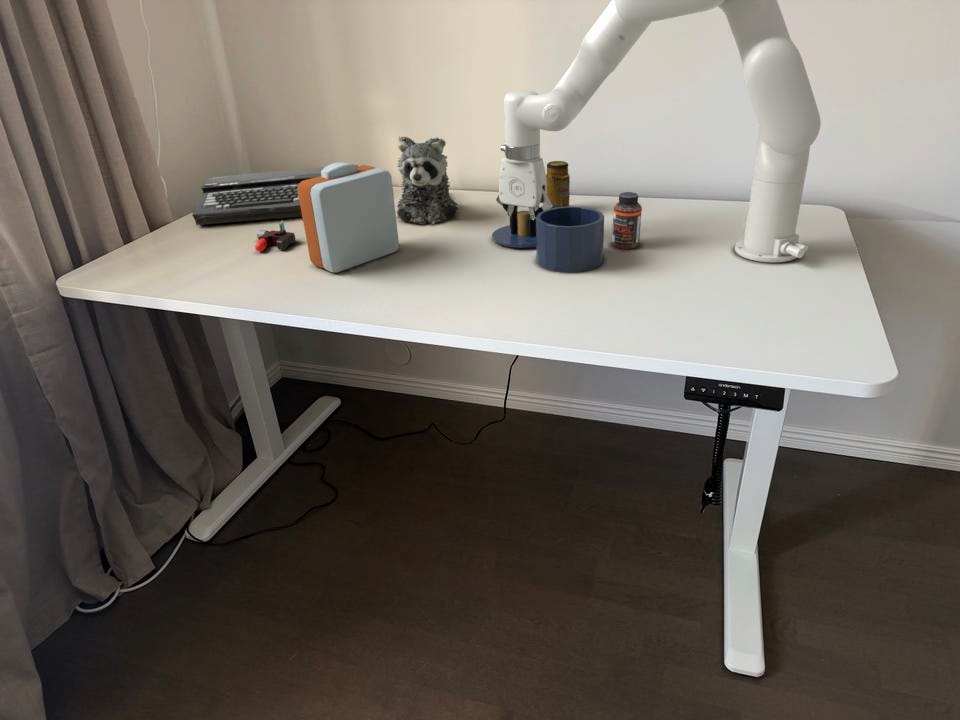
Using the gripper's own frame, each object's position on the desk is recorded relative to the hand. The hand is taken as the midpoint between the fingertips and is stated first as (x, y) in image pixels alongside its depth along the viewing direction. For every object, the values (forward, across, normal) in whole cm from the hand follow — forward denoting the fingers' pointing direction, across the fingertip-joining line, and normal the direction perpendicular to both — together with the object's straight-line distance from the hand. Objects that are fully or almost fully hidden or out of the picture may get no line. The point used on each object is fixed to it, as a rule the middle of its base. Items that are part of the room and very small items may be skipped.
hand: (524, 232), depth 159 cm
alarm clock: (+2, -28, -27) cm, 39 cm away
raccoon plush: (+2, -34, +7) cm, 35 cm away
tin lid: (+1, 0, 0) cm, 1 cm away
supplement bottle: (+2, +22, +6) cm, 23 cm away
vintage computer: (+2, -74, -5) cm, 74 cm away
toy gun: (+2, -52, -30) cm, 60 cm away
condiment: (+2, -2, +21) cm, 21 cm away
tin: (+1, +15, -8) cm, 17 cm away
